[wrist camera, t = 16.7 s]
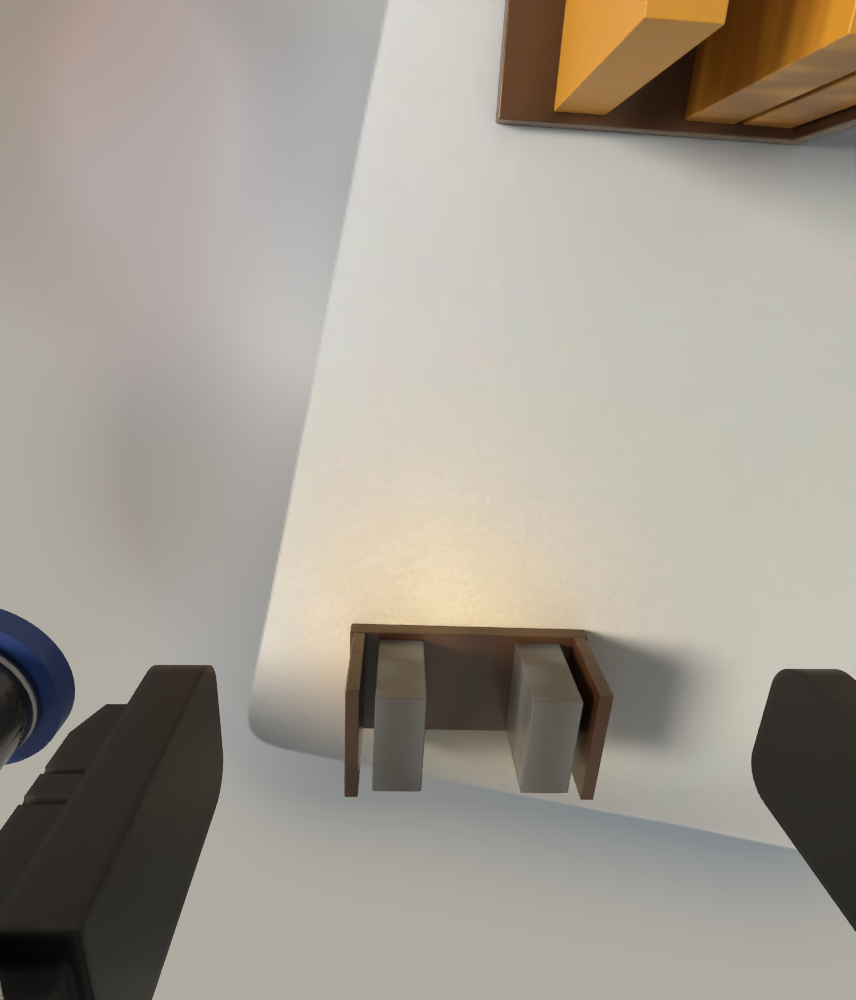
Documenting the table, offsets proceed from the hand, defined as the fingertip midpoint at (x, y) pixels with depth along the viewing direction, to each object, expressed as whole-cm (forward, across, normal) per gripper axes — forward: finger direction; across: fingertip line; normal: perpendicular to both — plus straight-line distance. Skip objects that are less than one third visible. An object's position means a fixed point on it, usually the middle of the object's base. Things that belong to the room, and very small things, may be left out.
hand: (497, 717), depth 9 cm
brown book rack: (+29, -4, +20) cm, 35 cm away
